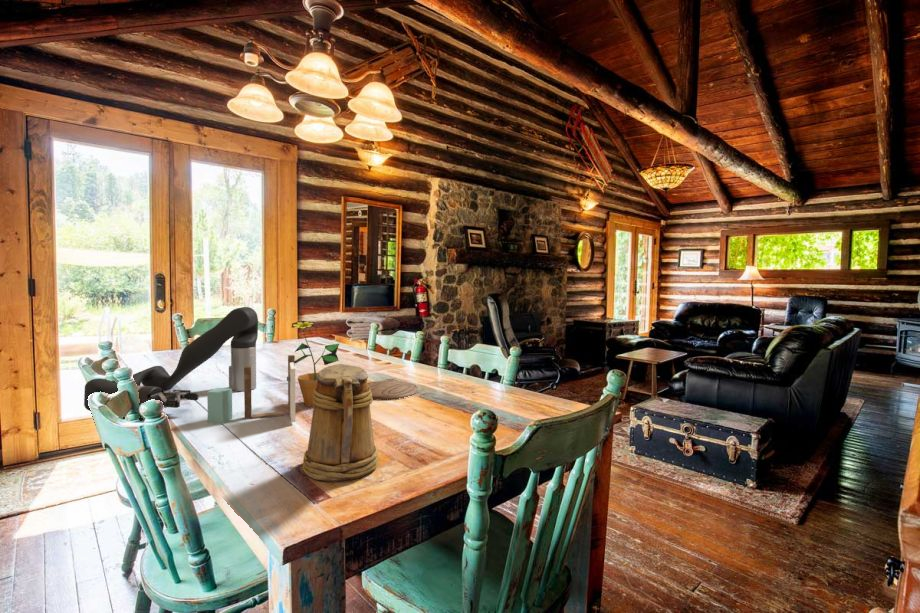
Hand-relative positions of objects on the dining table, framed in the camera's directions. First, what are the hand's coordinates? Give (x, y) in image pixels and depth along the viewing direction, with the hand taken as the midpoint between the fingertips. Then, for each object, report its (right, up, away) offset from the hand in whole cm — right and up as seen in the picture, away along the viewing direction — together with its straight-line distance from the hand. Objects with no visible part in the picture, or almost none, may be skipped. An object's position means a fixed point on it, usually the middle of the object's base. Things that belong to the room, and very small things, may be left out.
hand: (188, 400), depth 147 cm
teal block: (+11, -6, -1) cm, 12 cm away
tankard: (+59, -10, -35) cm, 69 cm away
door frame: (+24, -6, +5) cm, 26 cm away
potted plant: (+35, -6, +20) cm, 40 cm away
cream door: (+33, -6, +1) cm, 33 cm away
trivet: (+58, -5, +40) cm, 70 cm away
